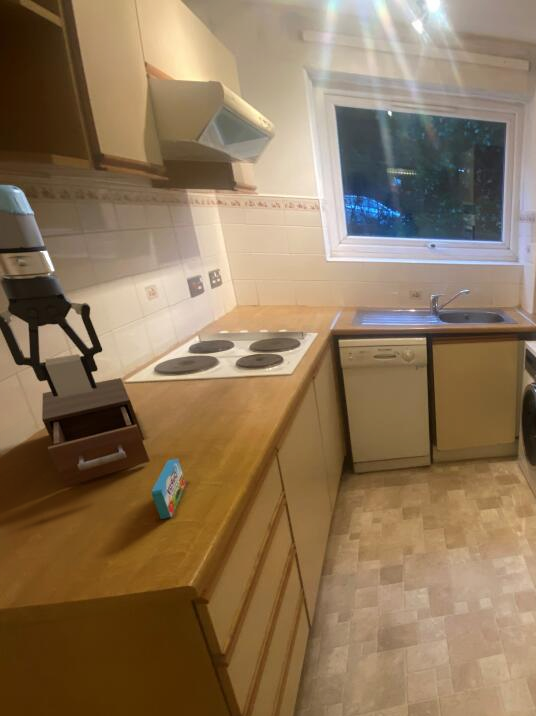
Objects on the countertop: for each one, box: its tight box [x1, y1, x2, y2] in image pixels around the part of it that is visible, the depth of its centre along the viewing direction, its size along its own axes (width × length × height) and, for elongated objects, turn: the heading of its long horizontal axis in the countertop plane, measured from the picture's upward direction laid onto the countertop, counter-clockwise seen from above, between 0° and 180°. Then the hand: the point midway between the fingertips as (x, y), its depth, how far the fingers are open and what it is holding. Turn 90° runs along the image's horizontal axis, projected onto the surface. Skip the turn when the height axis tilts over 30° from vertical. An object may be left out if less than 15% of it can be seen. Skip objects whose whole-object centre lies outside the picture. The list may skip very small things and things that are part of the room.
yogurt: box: [151, 458, 187, 520], centre depth 84 cm, size 12×2×6 cm, turn 24°
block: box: [45, 353, 93, 398], centre depth 88 cm, size 5×5×7 cm
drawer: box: [47, 405, 151, 488], centre depth 94 cm, size 24×14×9 cm, turn 45°
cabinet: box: [41, 377, 145, 446], centre depth 106 cm, size 20×15×11 cm
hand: (75, 390), depth 89 cm, fingers closed on block, 5 cm apart
